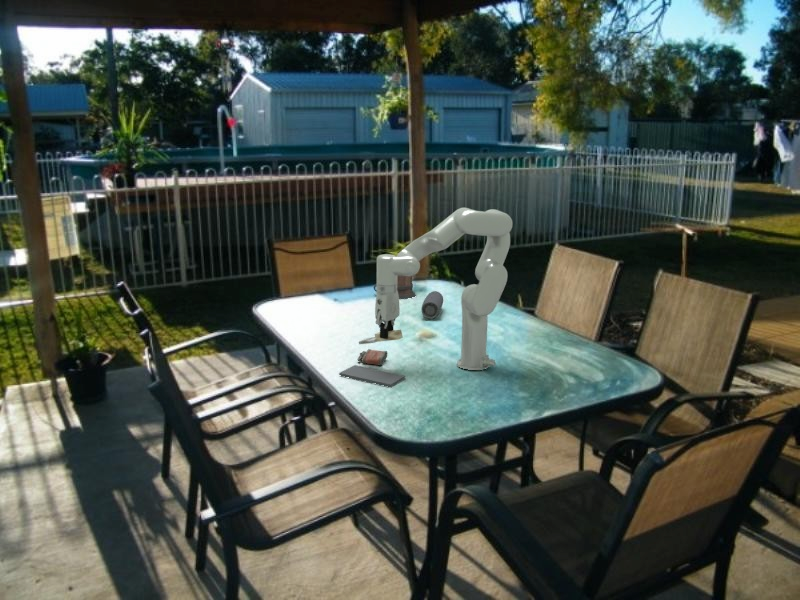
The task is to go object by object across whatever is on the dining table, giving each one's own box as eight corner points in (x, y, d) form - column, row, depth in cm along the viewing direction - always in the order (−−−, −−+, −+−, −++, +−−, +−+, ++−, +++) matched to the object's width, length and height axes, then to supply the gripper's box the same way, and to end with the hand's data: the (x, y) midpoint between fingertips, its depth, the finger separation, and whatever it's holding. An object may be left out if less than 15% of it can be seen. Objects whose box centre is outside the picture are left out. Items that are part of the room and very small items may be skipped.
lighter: (387, 356, 262) (363, 353, 265) (387, 349, 260) (363, 346, 263) (381, 367, 255) (356, 364, 258) (380, 360, 253) (355, 357, 256)
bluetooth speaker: (439, 321, 316) (440, 301, 313) (420, 320, 317) (420, 300, 315) (444, 309, 338) (444, 290, 335) (425, 308, 339) (426, 289, 337)
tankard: (413, 291, 375) (413, 256, 370) (419, 298, 359) (419, 262, 354) (371, 293, 371) (371, 257, 366) (376, 300, 355) (376, 263, 350)
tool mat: (405, 379, 242) (405, 375, 241) (390, 387, 233) (390, 384, 233) (354, 368, 253) (354, 365, 252) (339, 375, 244) (339, 372, 244)
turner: (404, 336, 246) (403, 328, 246) (396, 340, 241) (394, 332, 241) (368, 340, 256) (366, 332, 255) (359, 344, 251) (357, 336, 251)
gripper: (383, 294, 234) (382, 344, 238) (407, 285, 247) (406, 333, 252) (365, 291, 238) (365, 341, 242) (390, 283, 251) (390, 330, 256)
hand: (386, 336), depth 247 cm, fingers closed on turner, 3 cm apart
